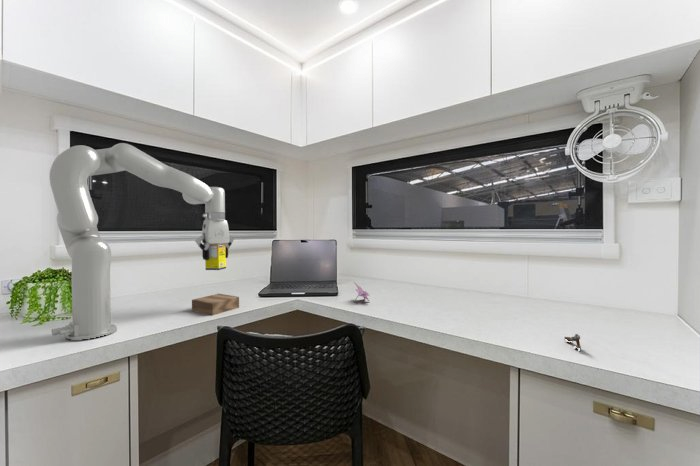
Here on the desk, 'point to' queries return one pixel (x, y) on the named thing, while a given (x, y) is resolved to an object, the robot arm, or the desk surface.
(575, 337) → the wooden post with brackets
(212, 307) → the walnut block
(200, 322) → the desk surface
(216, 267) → the supplement box
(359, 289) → the lily
